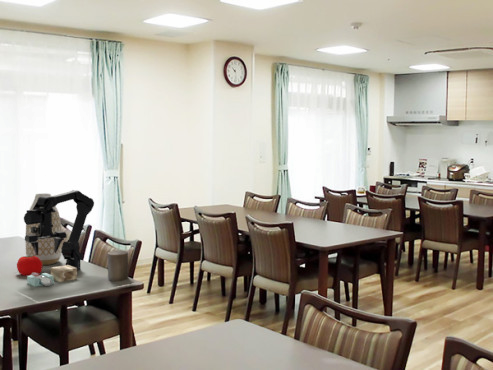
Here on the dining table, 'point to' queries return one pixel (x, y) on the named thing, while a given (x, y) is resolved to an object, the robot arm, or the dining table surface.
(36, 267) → the tomato
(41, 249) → the vase
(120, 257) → the pillar candle
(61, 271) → the open beige box
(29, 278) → the cradle
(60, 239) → the robot arm
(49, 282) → the axle
